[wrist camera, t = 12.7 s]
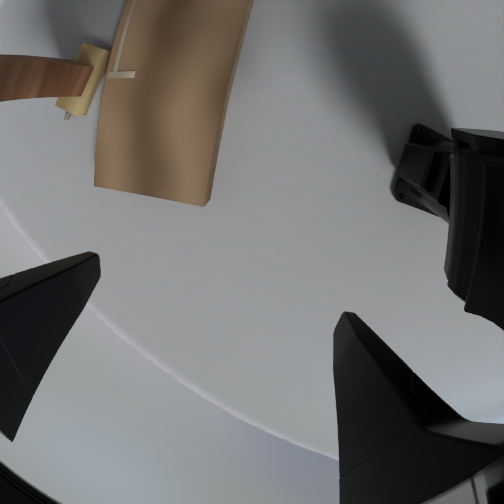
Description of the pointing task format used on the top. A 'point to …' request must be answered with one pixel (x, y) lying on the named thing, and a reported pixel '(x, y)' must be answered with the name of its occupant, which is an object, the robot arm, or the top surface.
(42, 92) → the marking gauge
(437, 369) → the top surface
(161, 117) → the tan wooden flat board
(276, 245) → the top surface
